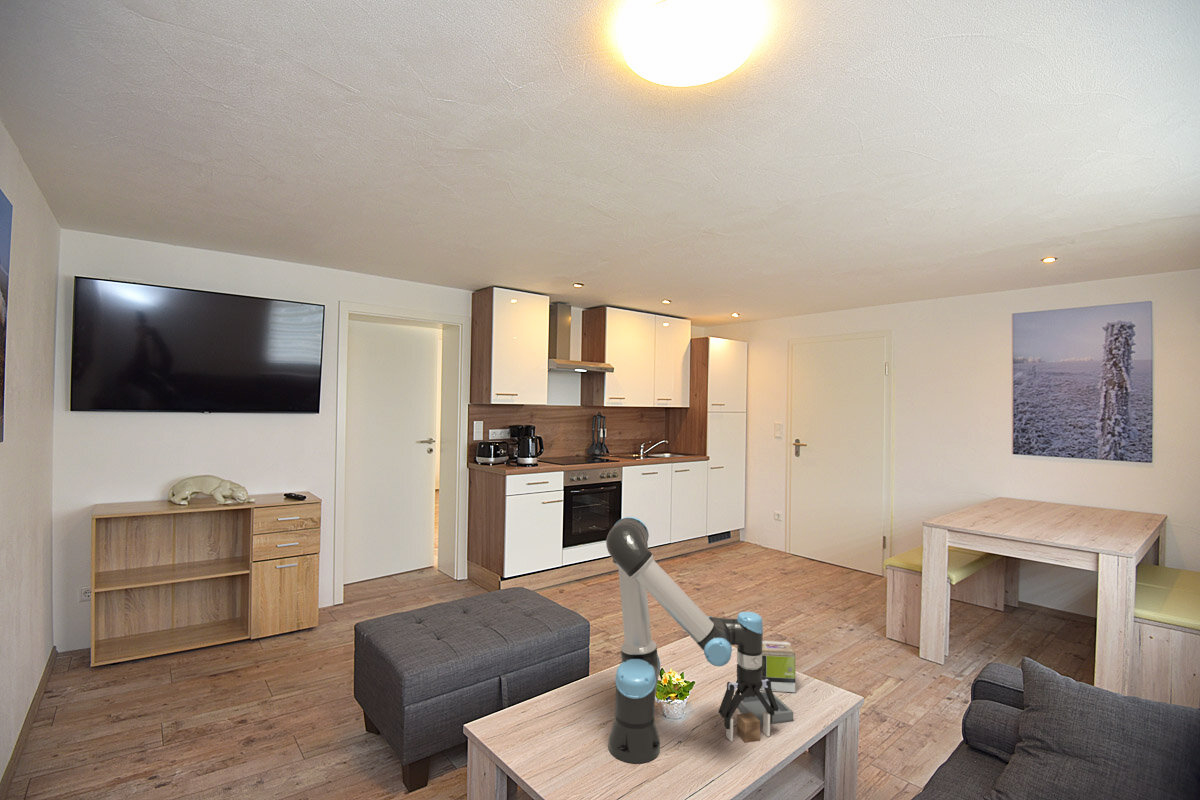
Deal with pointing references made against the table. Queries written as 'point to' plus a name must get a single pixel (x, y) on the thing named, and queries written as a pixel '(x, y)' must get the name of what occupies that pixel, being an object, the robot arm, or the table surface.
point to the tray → (757, 709)
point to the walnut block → (748, 727)
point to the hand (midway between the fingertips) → (748, 736)
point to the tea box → (778, 665)
